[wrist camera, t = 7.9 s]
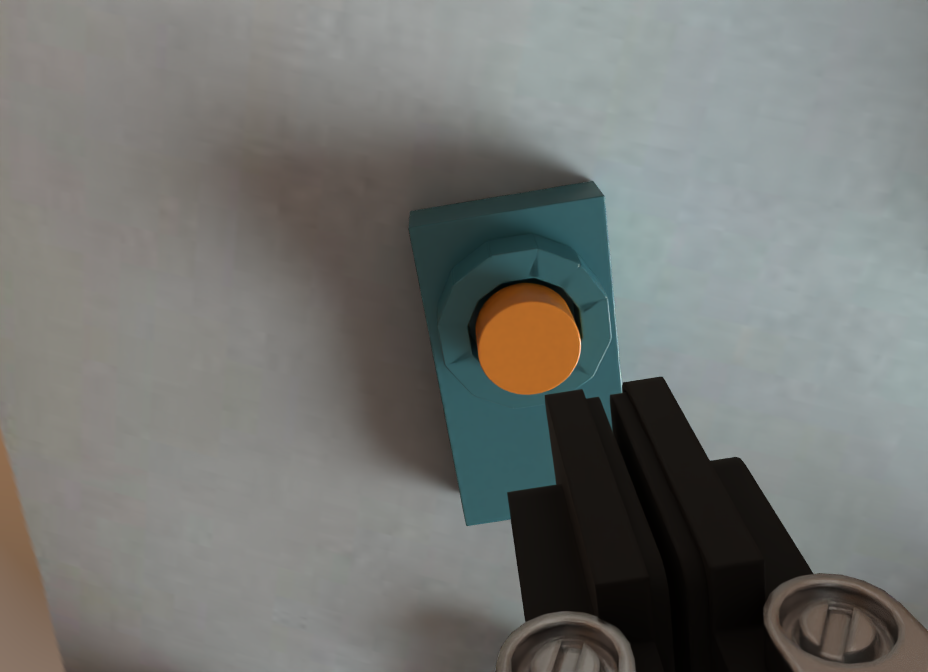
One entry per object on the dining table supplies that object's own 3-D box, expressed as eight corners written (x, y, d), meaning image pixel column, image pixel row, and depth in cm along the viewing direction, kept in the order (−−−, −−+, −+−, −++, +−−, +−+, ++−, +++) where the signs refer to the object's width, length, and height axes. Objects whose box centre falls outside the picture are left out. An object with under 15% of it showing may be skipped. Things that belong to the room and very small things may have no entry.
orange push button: (468, 290, 33) (470, 310, 31) (567, 274, 33) (575, 293, 31) (483, 378, 35) (485, 402, 33) (577, 363, 35) (586, 386, 33)
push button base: (409, 210, 36) (406, 243, 32) (593, 180, 36) (614, 208, 32) (464, 496, 42) (467, 553, 38) (621, 471, 42) (642, 527, 38)
